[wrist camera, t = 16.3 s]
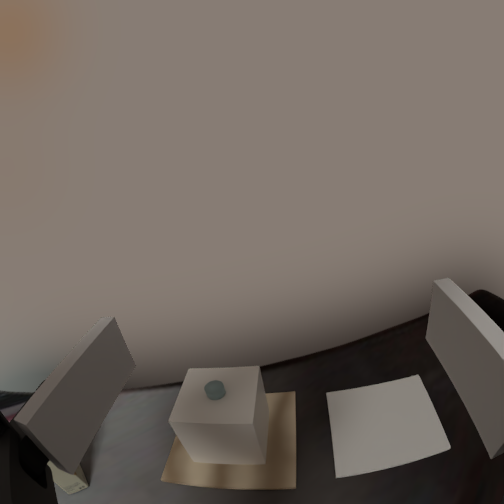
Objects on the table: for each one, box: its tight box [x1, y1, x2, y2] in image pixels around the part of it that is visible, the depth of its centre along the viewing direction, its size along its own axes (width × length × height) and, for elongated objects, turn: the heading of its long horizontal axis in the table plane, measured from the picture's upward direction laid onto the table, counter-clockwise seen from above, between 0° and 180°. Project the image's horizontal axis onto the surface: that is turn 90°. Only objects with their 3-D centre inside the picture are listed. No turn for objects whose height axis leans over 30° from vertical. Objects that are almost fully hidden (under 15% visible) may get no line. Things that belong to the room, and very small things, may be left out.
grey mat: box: [326, 375, 451, 478], centre depth 33 cm, size 16×16×1 cm
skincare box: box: [47, 460, 88, 495], centre depth 26 cm, size 6×4×12 cm
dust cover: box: [168, 366, 269, 465], centre depth 34 cm, size 10×10×11 cm
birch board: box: [161, 391, 296, 490], centre depth 36 cm, size 18×18×1 cm
